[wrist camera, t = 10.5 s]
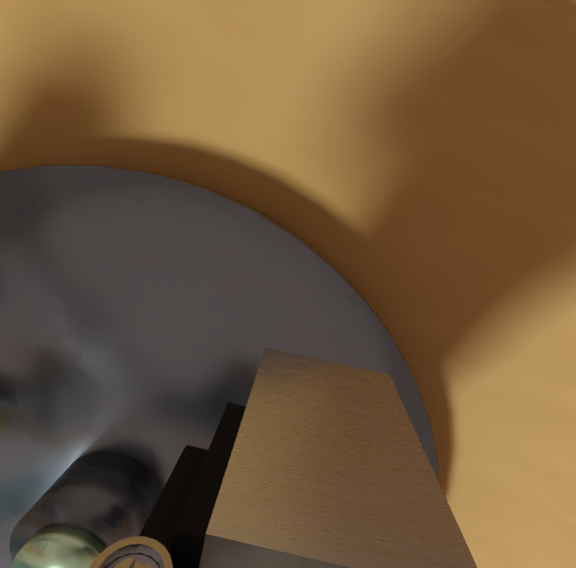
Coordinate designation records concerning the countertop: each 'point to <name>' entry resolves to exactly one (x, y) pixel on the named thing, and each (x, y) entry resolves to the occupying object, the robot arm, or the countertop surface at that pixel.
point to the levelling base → (145, 343)
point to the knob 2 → (329, 477)
